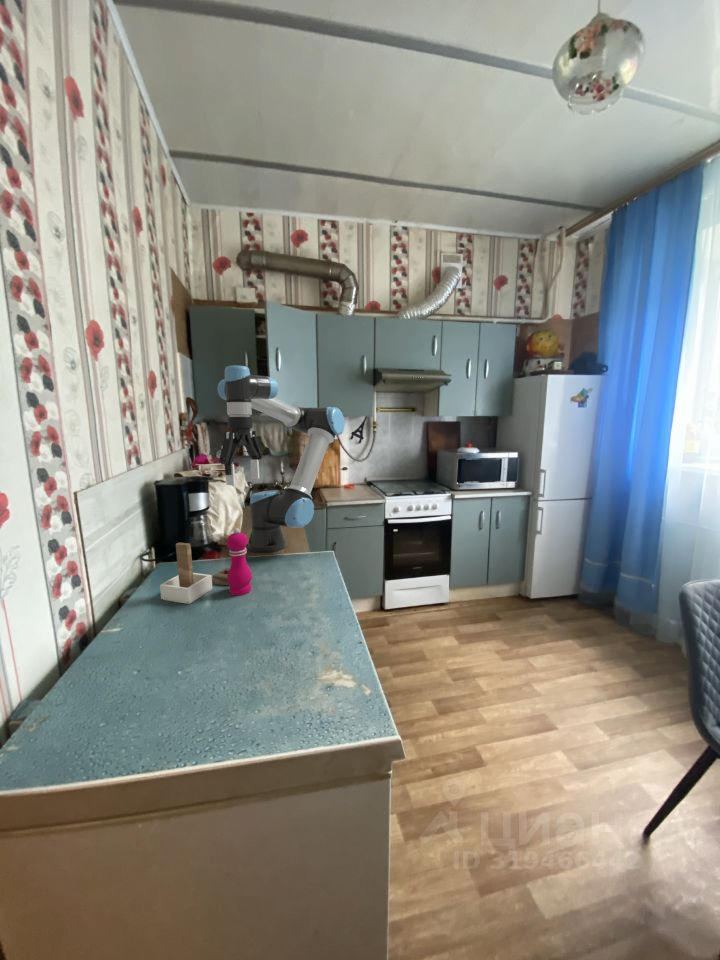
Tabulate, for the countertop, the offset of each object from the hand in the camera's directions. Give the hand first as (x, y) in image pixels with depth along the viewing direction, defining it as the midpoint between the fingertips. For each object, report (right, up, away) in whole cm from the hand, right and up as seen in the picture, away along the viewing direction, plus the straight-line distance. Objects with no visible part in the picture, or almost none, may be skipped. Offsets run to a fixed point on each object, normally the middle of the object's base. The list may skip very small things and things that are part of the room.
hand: (243, 481), depth 123 cm
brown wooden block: (-14, -33, -10) cm, 37 cm away
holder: (-5, -32, -1) cm, 33 cm away
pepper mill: (+2, -34, -8) cm, 35 cm away
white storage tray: (-14, -34, -10) cm, 38 cm away
